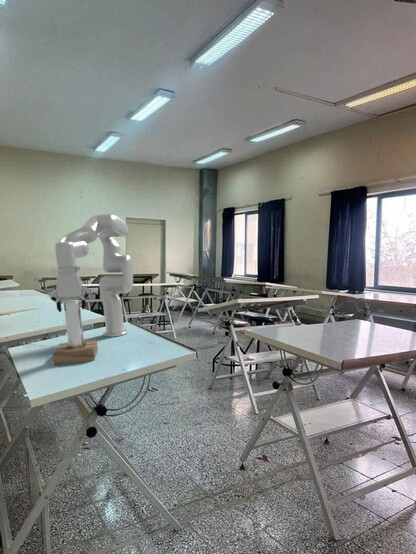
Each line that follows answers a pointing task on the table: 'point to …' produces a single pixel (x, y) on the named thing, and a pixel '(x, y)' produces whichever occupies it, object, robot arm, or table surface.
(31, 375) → the table surface
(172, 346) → the table surface
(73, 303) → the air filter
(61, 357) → the socket block
